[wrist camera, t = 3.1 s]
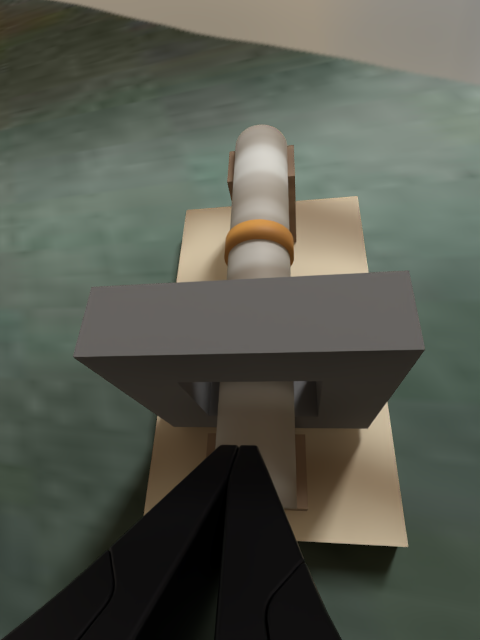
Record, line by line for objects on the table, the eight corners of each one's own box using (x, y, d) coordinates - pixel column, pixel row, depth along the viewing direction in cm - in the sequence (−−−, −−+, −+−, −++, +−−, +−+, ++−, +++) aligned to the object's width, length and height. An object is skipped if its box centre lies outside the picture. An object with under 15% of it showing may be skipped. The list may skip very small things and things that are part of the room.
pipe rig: (398, 544, 15) (473, 566, 8) (154, 531, 16) (54, 540, 10) (354, 215, 22) (374, 93, 16) (193, 226, 24) (152, 120, 17)
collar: (367, 428, 15) (425, 349, 8) (173, 427, 16) (72, 357, 9) (362, 380, 16) (408, 270, 9) (179, 382, 17) (91, 286, 10)
